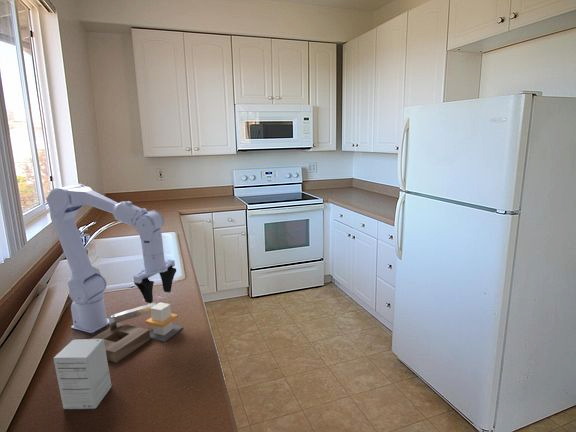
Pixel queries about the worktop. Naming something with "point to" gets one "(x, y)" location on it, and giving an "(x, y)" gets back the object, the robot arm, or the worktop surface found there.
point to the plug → (161, 318)
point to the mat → (166, 336)
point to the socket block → (122, 340)
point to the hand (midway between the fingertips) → (158, 296)
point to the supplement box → (83, 373)
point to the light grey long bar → (129, 314)
